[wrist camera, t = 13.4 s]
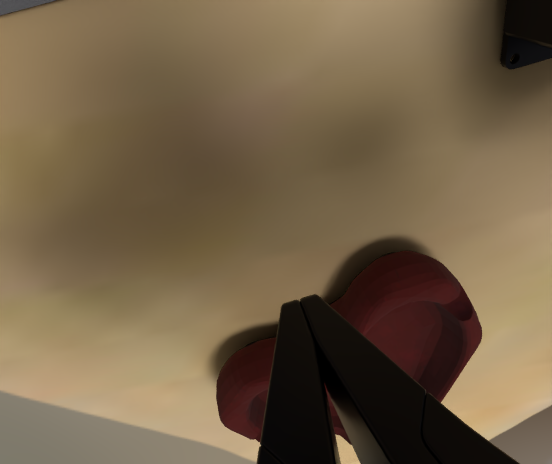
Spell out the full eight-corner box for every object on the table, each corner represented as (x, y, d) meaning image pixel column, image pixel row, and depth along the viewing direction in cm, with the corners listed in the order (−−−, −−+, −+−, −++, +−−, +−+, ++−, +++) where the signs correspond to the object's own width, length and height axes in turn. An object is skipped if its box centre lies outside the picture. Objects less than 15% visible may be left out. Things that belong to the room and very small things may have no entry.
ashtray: (310, 428, 38) (326, 485, 35) (190, 354, 29) (194, 420, 25) (480, 328, 35) (520, 378, 31) (406, 208, 26) (449, 257, 22)
